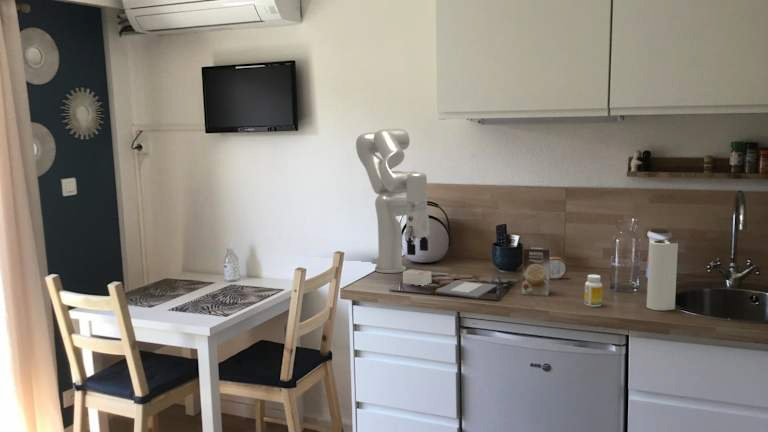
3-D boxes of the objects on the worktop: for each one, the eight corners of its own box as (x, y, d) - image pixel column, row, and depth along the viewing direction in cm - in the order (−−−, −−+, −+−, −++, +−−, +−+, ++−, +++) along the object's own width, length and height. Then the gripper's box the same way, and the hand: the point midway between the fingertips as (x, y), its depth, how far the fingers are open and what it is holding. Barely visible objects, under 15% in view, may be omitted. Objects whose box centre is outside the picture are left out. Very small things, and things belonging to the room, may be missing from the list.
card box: (403, 283, 242) (402, 271, 242) (410, 280, 247) (410, 268, 246) (423, 286, 237) (423, 274, 236) (431, 283, 242) (431, 271, 241)
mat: (435, 292, 228) (435, 290, 228) (456, 281, 243) (456, 279, 243) (477, 298, 220) (477, 295, 220) (497, 286, 235) (497, 284, 235)
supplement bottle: (581, 305, 210) (582, 276, 208) (588, 301, 213) (589, 273, 212) (597, 308, 206) (598, 278, 205) (604, 304, 210) (605, 275, 208)
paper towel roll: (642, 307, 206) (645, 241, 203) (654, 304, 209) (657, 239, 206) (662, 313, 199) (665, 244, 196) (674, 309, 203) (678, 242, 200)
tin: (566, 278, 247) (566, 256, 245) (567, 280, 243) (568, 258, 242) (525, 277, 248) (526, 256, 247) (526, 279, 245) (527, 257, 244)
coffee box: (521, 294, 224) (522, 248, 222) (522, 289, 230) (523, 245, 228) (548, 296, 221) (549, 249, 219) (549, 291, 227) (550, 246, 225)
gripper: (414, 209, 228) (415, 257, 230) (436, 204, 243) (437, 249, 245) (396, 208, 232) (397, 255, 234) (419, 204, 247) (419, 248, 249)
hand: (417, 252), depth 240 cm, fingers open, 9 cm apart
